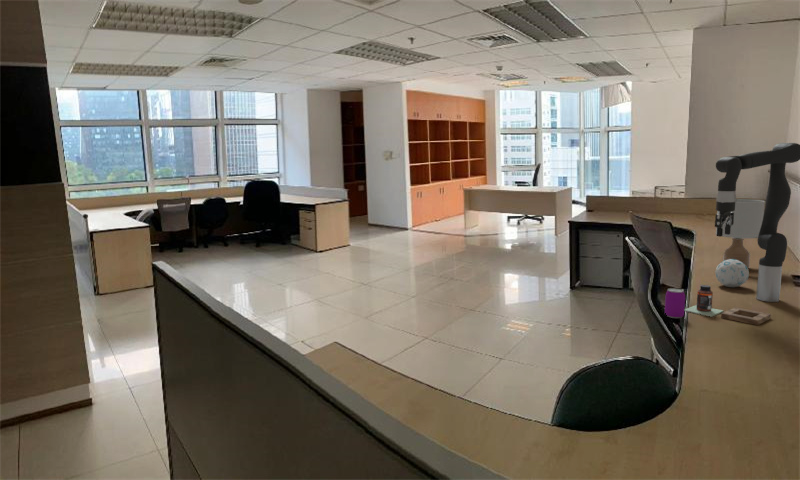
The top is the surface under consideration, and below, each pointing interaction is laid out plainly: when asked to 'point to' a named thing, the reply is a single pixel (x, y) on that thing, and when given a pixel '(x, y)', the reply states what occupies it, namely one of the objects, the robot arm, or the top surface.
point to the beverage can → (675, 303)
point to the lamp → (743, 228)
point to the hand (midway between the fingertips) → (723, 235)
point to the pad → (707, 313)
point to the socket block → (756, 320)
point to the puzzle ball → (732, 273)
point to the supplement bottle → (704, 298)
